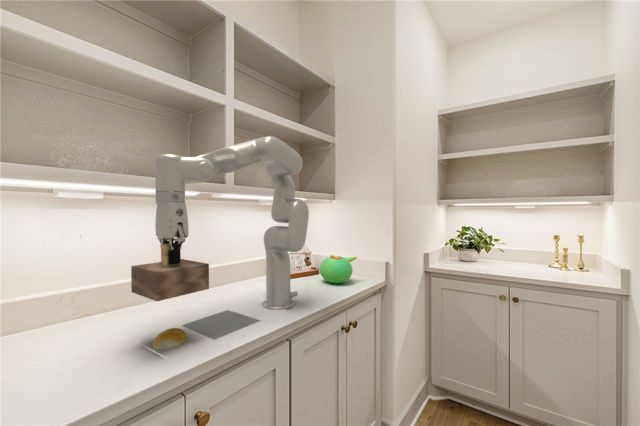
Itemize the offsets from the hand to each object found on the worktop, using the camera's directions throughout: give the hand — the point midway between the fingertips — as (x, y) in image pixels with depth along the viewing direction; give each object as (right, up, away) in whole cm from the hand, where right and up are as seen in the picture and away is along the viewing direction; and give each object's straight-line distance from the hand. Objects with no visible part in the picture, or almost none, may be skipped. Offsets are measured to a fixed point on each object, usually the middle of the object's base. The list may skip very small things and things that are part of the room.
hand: (170, 262), depth 84 cm
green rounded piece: (+51, -23, +70) cm, 90 cm away
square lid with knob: (0, -8, 0) cm, 8 cm away
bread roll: (0, -24, 0) cm, 24 cm away
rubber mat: (+10, -23, +14) cm, 29 cm away
